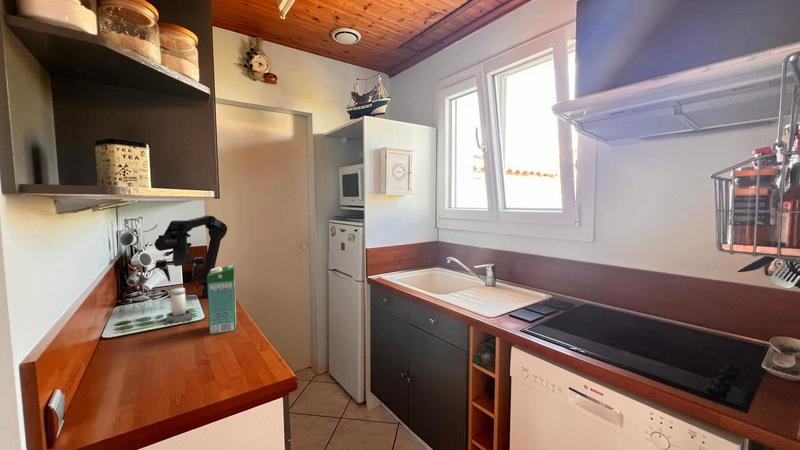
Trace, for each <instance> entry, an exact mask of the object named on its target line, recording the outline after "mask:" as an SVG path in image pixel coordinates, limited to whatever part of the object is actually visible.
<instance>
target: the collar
mask: <svg viewBox="0 0 800 450" xmlns="http://www.w3.org/2000/svg"><path fill="white" fill-rule="evenodd" d="M192 314H193V313H192V311H191V310H189V309H186V314H185V315H182V316H176V317H174V316H172V311H170V312H169V313H166V319H165V325H166V324H169V325H174V324H173V323H175V324H180V323H179V322H181V323H185V322H184V321H187V322H191V321H190V320H192V321H193V315H192Z"/></svg>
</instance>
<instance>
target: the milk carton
mask: <svg viewBox="0 0 800 450" xmlns="http://www.w3.org/2000/svg"><path fill="white" fill-rule="evenodd" d="M235 266H236V265H235V264H231V265H228V266H225V267H222V266H217V267H216V266H215V268H213V269H211V270H210V272H209V274H208V276H207V288H208V298H207V312H208V334H209V335H215V334H221V333H229V332H234V331H237V305H236V304H237V303H236V302H237V301H236V300H237V298H236V267H235Z"/></svg>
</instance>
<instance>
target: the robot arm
mask: <svg viewBox="0 0 800 450" xmlns="http://www.w3.org/2000/svg"><path fill="white" fill-rule="evenodd" d="M202 226H205V228H206V229H207V230H208V233H207V234H208V236H209V243H208V248H207V251H206V256H205V258H204V257H203V256H196V257H194V258H193V259H192V254H191V253H188V238H191V234H189V232H191V231H192V230H193V229H194V228H198V227H202ZM227 231H228V226H227V224H226V223H224V222H223V221H221V220H219V219H217V218H216V217H215V216H213V215H204V216H200V217H195V218H191V219H188V220H187V219H185V220H182V219H181V220H180V219H179V220H171V221H170V222H169V224H168V226H167V228H166V230H165V231H164V233H163V234H160V235H158V238H157V239H155V241H154V247H155V248H156V250H157V251H159V252H162V251H169V250H172V260H167V259H158V260H156V261H155V263H154V264H155V265H154V267H155V269H159V270H160V271H161V270H162V271H163V273H164V274H165V276H166V279H167V280H168V281H167V282H171V276H170V270H169V266H174V267H179V266H180V267H181V266H184V267H185V266H187V265H189V264H193V268H192V280H194V279H195V276H196V280H197V282H198V284H199V286H202V287H201V297H202V298H203V299H208V288H207V276H208V274H209V272H210V270H211V269H213V268H216V263H217V259H218V254H219V249H220V245H221V243H222V242H221V241H222V239H223V238H224V237H225V236H226V234H227ZM202 265H203V266H202Z"/></svg>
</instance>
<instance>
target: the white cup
mask: <svg viewBox="0 0 800 450" xmlns="http://www.w3.org/2000/svg"><path fill="white" fill-rule="evenodd" d="M170 302H171V303H170V304H171V312H172V316H174V317H176V316H182V315H185V314H186V310H187V305H186V302H187V301H186V287H175V288H171V289H170Z"/></svg>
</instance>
